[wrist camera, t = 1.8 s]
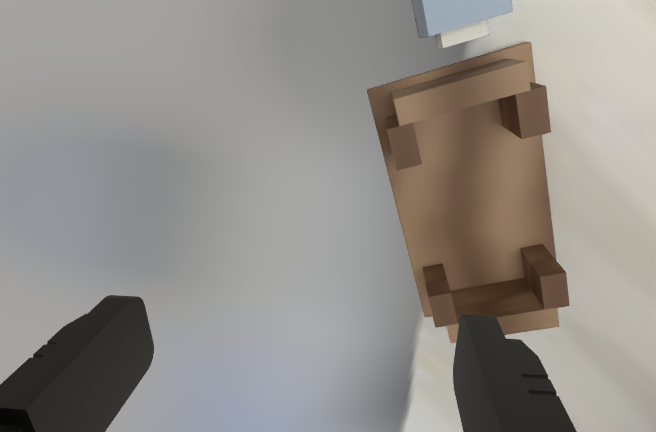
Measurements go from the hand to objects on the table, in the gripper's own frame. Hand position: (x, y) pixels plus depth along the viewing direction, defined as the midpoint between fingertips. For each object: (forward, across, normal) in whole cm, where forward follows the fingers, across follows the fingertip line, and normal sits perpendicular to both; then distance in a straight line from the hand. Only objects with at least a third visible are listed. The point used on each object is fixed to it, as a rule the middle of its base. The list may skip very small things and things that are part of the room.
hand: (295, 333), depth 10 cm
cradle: (+20, -9, +4) cm, 22 cm away
